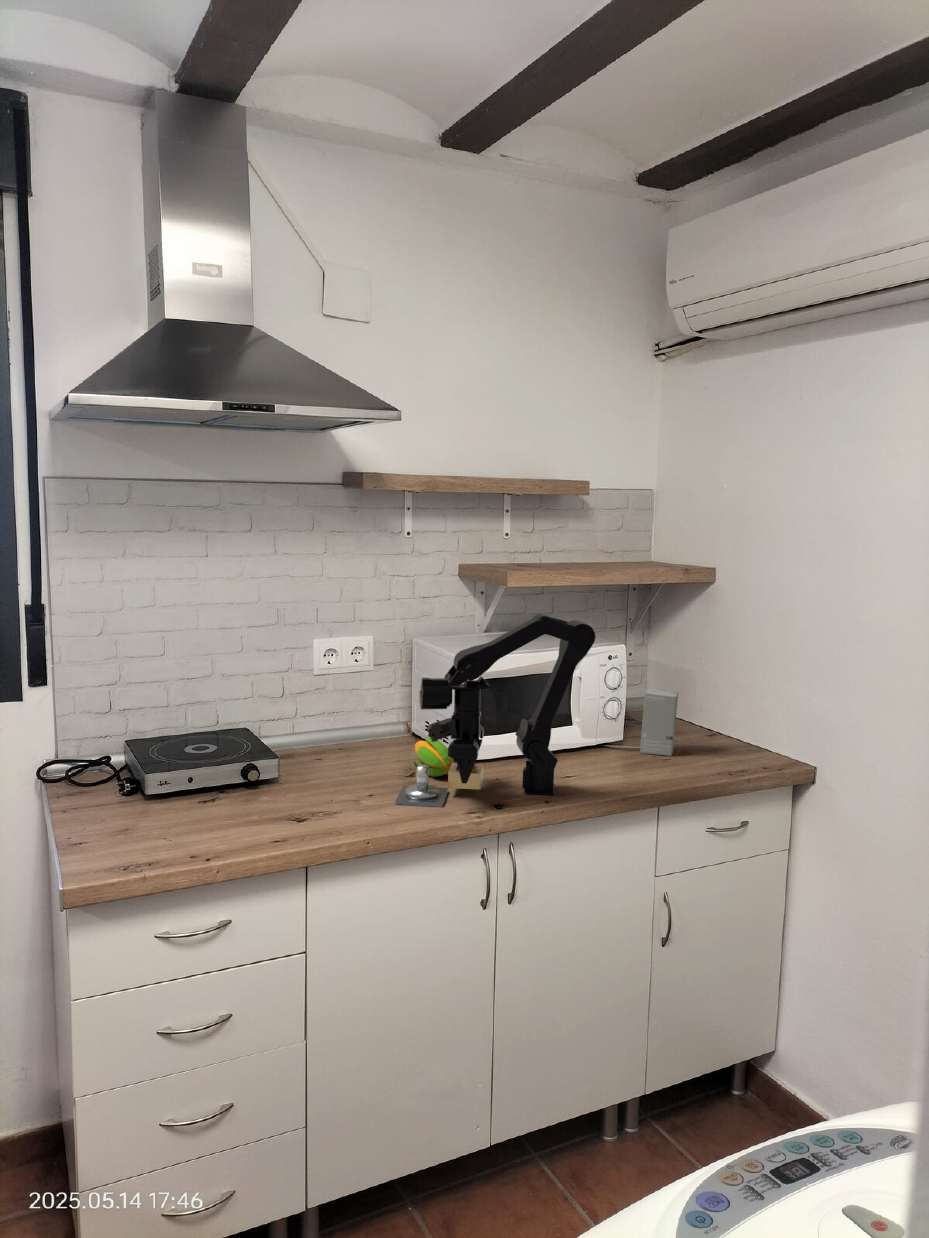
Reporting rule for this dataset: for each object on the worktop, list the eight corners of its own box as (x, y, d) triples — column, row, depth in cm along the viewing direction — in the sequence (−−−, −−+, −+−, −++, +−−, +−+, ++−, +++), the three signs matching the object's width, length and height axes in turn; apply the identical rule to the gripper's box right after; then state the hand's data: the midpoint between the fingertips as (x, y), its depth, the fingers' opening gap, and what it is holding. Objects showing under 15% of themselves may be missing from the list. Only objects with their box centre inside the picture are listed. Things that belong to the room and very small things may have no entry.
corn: (431, 750, 205) (403, 728, 224) (429, 783, 206) (400, 759, 224) (462, 749, 208) (431, 728, 227) (459, 782, 209) (429, 758, 227)
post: (448, 791, 201) (448, 760, 200) (442, 806, 191) (443, 774, 190) (403, 789, 202) (403, 758, 201) (395, 804, 192) (395, 772, 191)
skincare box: (639, 753, 233) (642, 693, 231) (642, 746, 240) (645, 687, 238) (673, 757, 231) (676, 695, 229) (675, 749, 238) (678, 690, 236)
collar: (482, 779, 203) (483, 764, 203) (480, 789, 196) (480, 773, 196) (451, 777, 204) (451, 762, 203) (448, 787, 197) (448, 772, 197)
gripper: (435, 697, 208) (434, 763, 210) (424, 717, 189) (423, 789, 192) (484, 699, 207) (483, 766, 209) (477, 719, 188) (476, 792, 190)
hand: (465, 777), depth 200 cm, fingers closed on collar, 7 cm apart
